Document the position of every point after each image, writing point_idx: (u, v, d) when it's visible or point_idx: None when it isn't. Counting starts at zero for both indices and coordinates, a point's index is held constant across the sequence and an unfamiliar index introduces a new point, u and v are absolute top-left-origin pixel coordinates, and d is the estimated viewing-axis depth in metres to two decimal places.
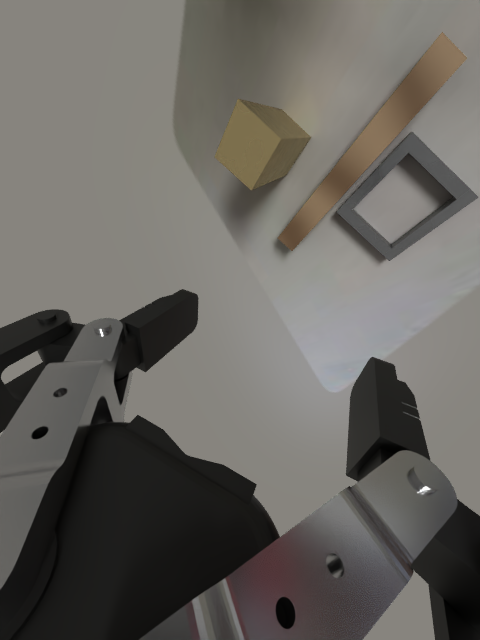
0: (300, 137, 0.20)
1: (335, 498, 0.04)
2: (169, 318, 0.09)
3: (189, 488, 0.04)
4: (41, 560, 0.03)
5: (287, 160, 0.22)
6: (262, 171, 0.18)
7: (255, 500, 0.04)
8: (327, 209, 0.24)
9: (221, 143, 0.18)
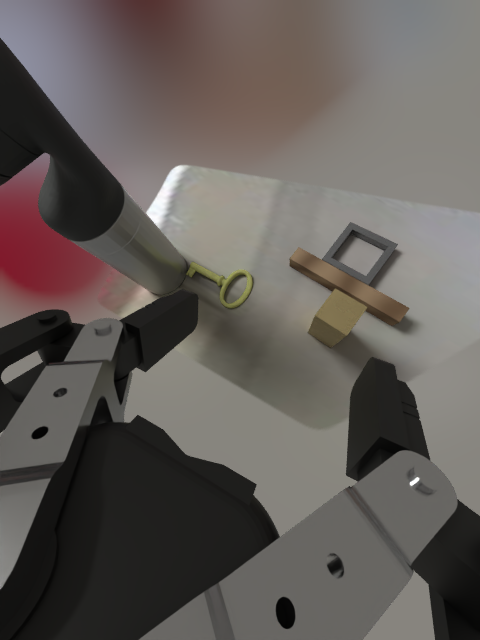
0: None
1: (335, 498, 0.04)
2: (169, 318, 0.09)
3: (189, 488, 0.04)
4: (41, 560, 0.03)
5: None
6: (353, 299, 0.26)
7: (255, 500, 0.04)
8: (368, 286, 0.33)
9: (338, 328, 0.25)
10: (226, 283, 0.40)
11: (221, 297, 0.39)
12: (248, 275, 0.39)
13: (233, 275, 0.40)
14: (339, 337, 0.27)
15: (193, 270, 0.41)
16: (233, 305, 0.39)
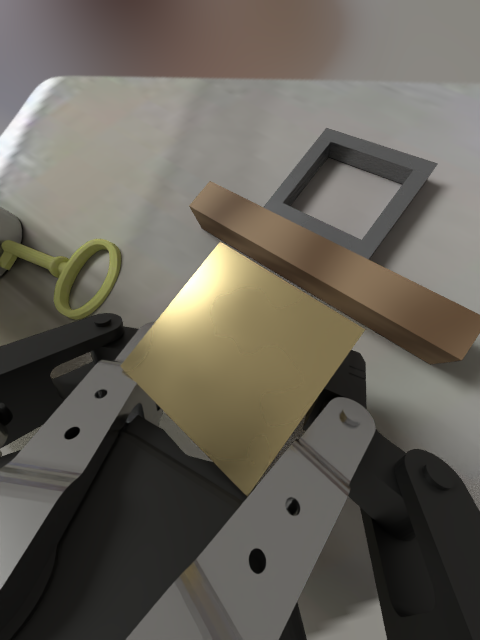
0: None
1: (286, 452, 0.04)
2: None
3: (189, 488, 0.04)
4: (33, 582, 0.03)
5: None
6: (297, 292, 0.05)
7: None
8: (367, 262, 0.13)
9: (207, 447, 0.05)
10: (67, 270, 0.19)
11: (56, 299, 0.19)
12: (109, 248, 0.19)
13: (81, 252, 0.20)
14: None
15: (9, 255, 0.21)
16: (80, 312, 0.18)
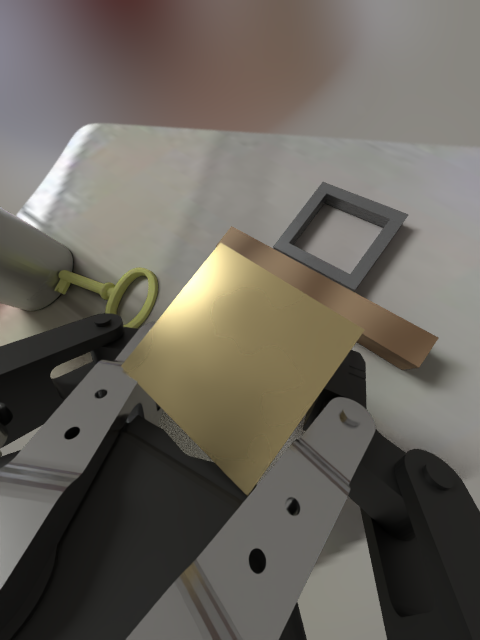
0: None
1: (286, 452, 0.04)
2: None
3: (189, 488, 0.04)
4: (33, 582, 0.03)
5: None
6: (297, 293, 0.05)
7: None
8: (352, 294, 0.17)
9: (208, 447, 0.05)
10: (114, 293, 0.24)
11: None
12: (148, 275, 0.24)
13: (125, 279, 0.24)
14: None
15: (65, 282, 0.26)
16: None
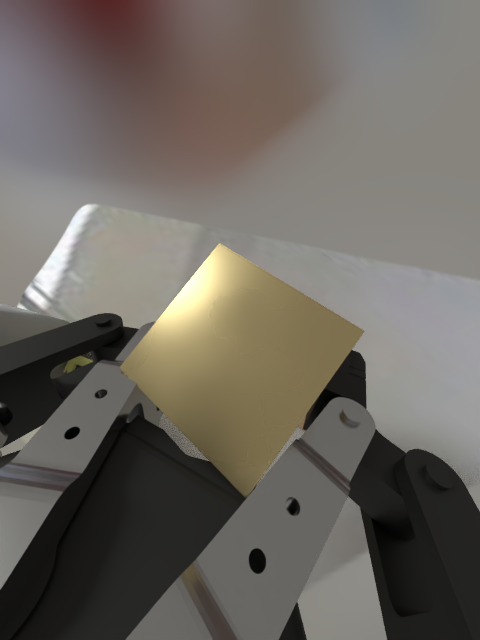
0: None
1: (286, 452, 0.04)
2: None
3: (189, 488, 0.04)
4: (33, 582, 0.03)
5: None
6: None
7: None
8: None
9: (206, 449, 0.05)
10: None
11: None
12: None
13: None
14: None
15: (72, 364, 0.30)
16: None
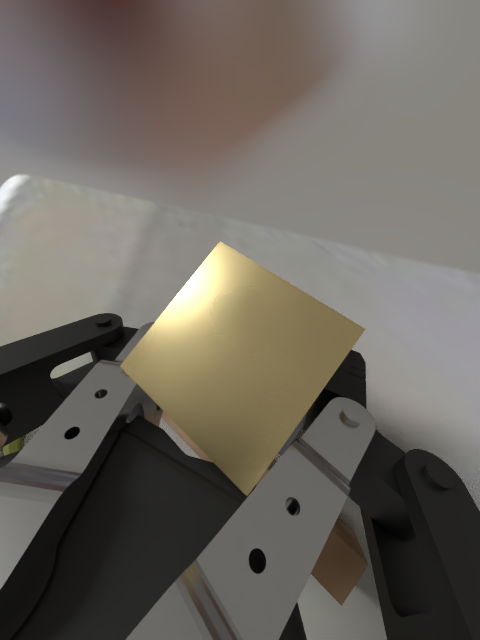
0: None
1: (286, 452, 0.04)
2: None
3: (189, 488, 0.04)
4: (33, 581, 0.03)
5: None
6: (298, 292, 0.05)
7: None
8: None
9: (207, 447, 0.05)
10: None
11: (6, 450, 0.19)
12: None
13: None
14: None
15: None
16: None
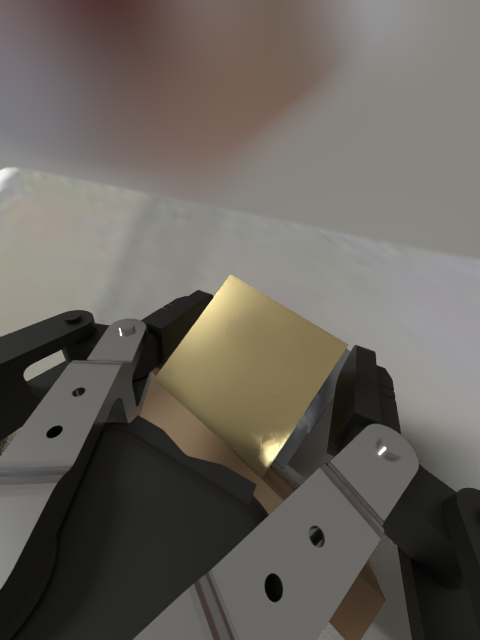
0: None
1: (313, 475, 0.04)
2: (188, 319, 0.10)
3: (189, 488, 0.04)
4: (39, 569, 0.03)
5: None
6: (295, 315, 0.07)
7: (255, 500, 0.04)
8: (273, 495, 0.12)
9: (229, 441, 0.06)
10: None
11: None
12: None
13: None
14: None
15: None
16: None
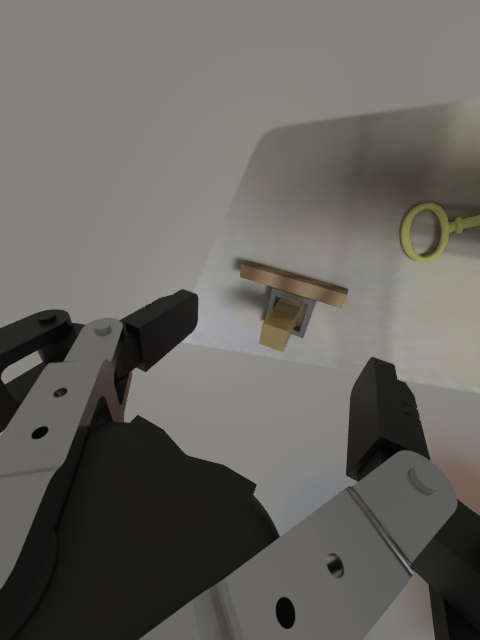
0: (291, 332, 0.40)
1: (335, 498, 0.04)
2: (169, 318, 0.09)
3: (189, 488, 0.04)
4: (41, 560, 0.03)
5: None
6: (268, 346, 0.37)
7: (255, 500, 0.04)
8: (270, 285, 0.40)
9: (269, 326, 0.34)
10: (443, 229, 0.28)
11: (436, 209, 0.27)
12: (418, 258, 0.31)
13: (441, 244, 0.29)
14: (269, 317, 0.36)
15: None
16: (409, 215, 0.29)
